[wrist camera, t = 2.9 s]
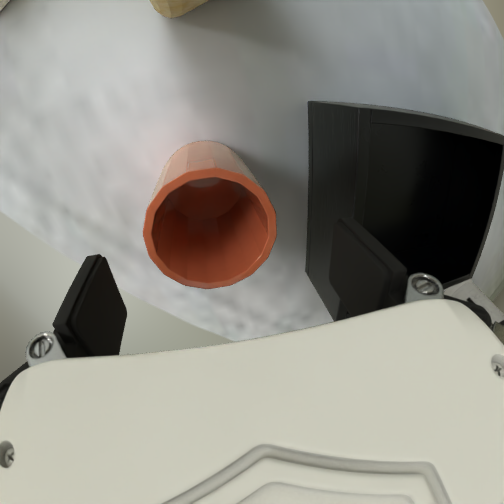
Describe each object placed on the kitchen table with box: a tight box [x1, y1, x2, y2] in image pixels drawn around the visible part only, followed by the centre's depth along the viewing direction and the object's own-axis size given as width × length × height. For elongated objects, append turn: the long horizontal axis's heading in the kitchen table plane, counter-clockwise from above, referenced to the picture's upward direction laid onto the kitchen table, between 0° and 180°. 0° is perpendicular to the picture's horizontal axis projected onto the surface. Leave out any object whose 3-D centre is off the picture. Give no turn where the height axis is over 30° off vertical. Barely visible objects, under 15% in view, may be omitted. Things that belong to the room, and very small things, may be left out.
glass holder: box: [444, 279, 504, 326], centre depth 27 cm, size 9×14×15 cm, turn 59°
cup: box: [143, 141, 277, 289], centre depth 16 cm, size 6×6×8 cm
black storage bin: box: [305, 101, 504, 322], centre depth 19 cm, size 17×15×7 cm
